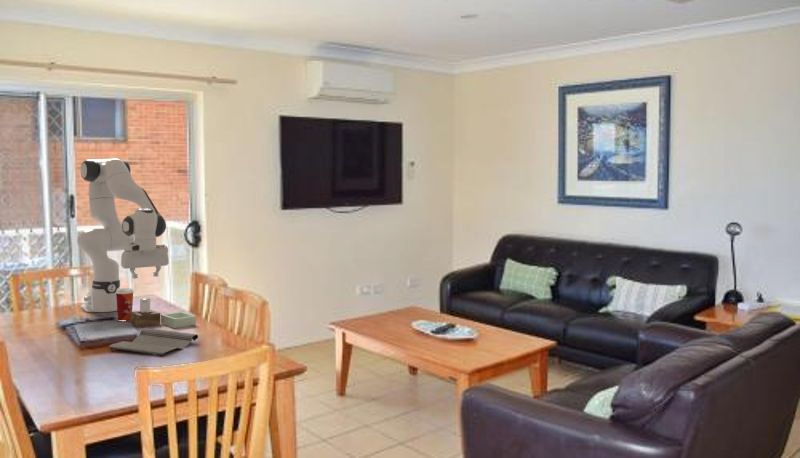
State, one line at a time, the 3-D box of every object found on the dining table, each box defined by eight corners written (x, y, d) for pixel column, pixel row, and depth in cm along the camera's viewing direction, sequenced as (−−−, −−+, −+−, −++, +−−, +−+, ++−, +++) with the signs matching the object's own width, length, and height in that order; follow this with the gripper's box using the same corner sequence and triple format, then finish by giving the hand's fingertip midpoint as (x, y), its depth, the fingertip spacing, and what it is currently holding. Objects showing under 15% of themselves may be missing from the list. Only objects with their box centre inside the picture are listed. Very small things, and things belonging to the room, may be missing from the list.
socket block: (130, 323, 290) (130, 312, 290) (150, 320, 297) (150, 309, 297) (139, 327, 284) (139, 315, 284) (160, 324, 291) (160, 312, 291)
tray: (160, 323, 292) (160, 314, 292) (181, 320, 300) (181, 311, 299) (174, 328, 284) (174, 319, 284) (195, 325, 292) (195, 316, 291)
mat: (107, 353, 244) (107, 340, 244) (146, 338, 267) (147, 327, 267) (163, 359, 239) (163, 346, 238) (198, 344, 262) (198, 332, 261)
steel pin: (138, 323, 290) (138, 298, 290) (147, 322, 293) (147, 297, 293) (142, 325, 288) (142, 300, 287) (151, 324, 291) (151, 299, 290)
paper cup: (129, 322, 292) (129, 291, 291) (112, 322, 292) (112, 290, 291) (137, 318, 300) (137, 288, 299) (120, 318, 300) (120, 287, 299)
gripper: (164, 243, 298) (164, 274, 299) (119, 246, 283) (119, 278, 284) (171, 245, 294) (171, 276, 294) (126, 247, 279) (126, 280, 279)
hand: (145, 277), depth 289 cm, fingers open, 8 cm apart
